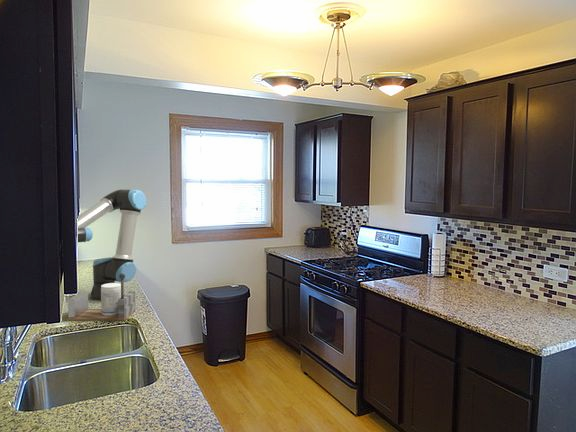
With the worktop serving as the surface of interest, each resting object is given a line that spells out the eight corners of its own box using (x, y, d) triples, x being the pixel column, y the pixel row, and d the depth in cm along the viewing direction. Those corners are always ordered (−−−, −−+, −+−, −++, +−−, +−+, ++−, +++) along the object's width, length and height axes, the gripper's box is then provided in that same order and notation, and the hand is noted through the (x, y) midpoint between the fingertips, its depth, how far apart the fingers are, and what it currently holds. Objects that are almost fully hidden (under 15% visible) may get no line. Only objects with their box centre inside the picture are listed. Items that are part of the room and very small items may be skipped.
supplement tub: (105, 310, 212) (104, 282, 211) (124, 310, 213) (123, 282, 212) (98, 316, 202) (97, 287, 201) (118, 316, 203) (117, 286, 202)
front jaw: (82, 308, 214) (82, 291, 214) (88, 308, 215) (88, 291, 214) (68, 317, 199) (67, 299, 199) (74, 317, 200) (74, 299, 199)
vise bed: (81, 311, 215) (80, 267, 214) (135, 311, 216) (134, 268, 215) (65, 320, 199) (64, 274, 198) (124, 320, 200) (123, 274, 199)
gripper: (44, 257, 201) (45, 304, 202) (71, 257, 201) (72, 304, 203) (52, 254, 208) (53, 300, 210) (79, 255, 209) (79, 300, 210)
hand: (62, 302), depth 206 cm, fingers closed
